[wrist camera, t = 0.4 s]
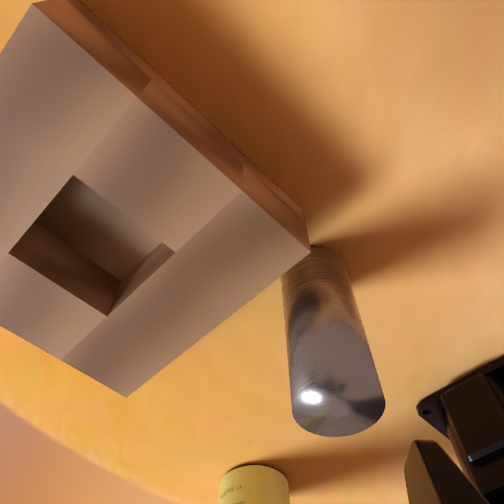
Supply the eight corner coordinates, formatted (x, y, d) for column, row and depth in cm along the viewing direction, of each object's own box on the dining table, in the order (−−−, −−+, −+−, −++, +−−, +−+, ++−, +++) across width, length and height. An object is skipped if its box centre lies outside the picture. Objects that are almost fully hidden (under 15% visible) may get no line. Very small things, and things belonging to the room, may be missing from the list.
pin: (358, 272, 22) (404, 408, 16) (310, 308, 24) (332, 447, 17) (316, 233, 21) (345, 362, 14) (267, 273, 22) (273, 408, 16)
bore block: (302, 209, 20) (311, 252, 17) (141, 345, 25) (126, 397, 22) (73, -6, 16) (31, 3, 13) (-73, 210, 20) (-127, 253, 18)
